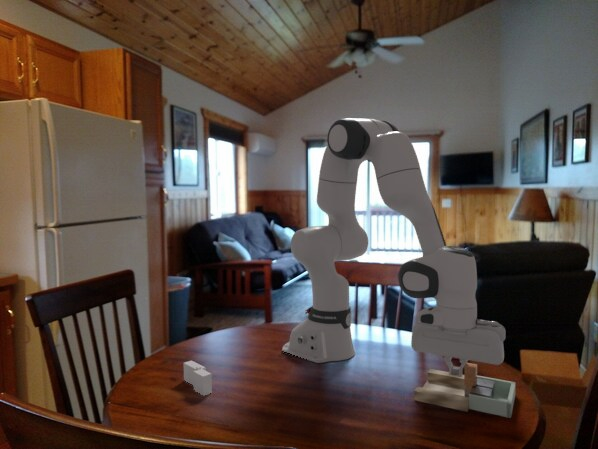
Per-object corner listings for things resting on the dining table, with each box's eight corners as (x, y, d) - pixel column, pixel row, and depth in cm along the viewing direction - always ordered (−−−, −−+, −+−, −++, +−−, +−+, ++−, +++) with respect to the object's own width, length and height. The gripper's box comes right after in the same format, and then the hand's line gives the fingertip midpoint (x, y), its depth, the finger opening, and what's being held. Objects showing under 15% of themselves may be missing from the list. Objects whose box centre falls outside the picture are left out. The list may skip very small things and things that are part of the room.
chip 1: (470, 405, 96) (470, 392, 96) (473, 398, 100) (473, 385, 99) (489, 409, 94) (490, 396, 94) (492, 402, 98) (492, 388, 97)
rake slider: (461, 402, 97) (461, 370, 96) (468, 386, 105) (468, 358, 104) (473, 404, 96) (473, 373, 95) (479, 388, 103) (479, 359, 103)
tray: (468, 413, 95) (468, 395, 95) (477, 391, 105) (477, 375, 105) (510, 422, 91) (511, 403, 90) (515, 399, 101) (515, 382, 101)
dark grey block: (473, 397, 100) (473, 384, 100) (476, 390, 104) (476, 378, 103) (492, 400, 98) (492, 387, 98) (494, 393, 102) (494, 381, 101)
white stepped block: (178, 378, 117) (178, 357, 116) (221, 376, 118) (221, 355, 117) (167, 405, 102) (166, 381, 101) (216, 402, 103) (216, 378, 102)
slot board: (414, 404, 99) (414, 391, 99) (430, 379, 112) (430, 368, 112) (467, 416, 94) (467, 402, 93) (478, 389, 106) (478, 377, 106)
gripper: (507, 319, 98) (506, 379, 99) (416, 308, 108) (416, 363, 109) (504, 326, 93) (503, 389, 93) (409, 314, 103) (409, 371, 104)
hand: (455, 375), depth 101 cm, fingers closed
